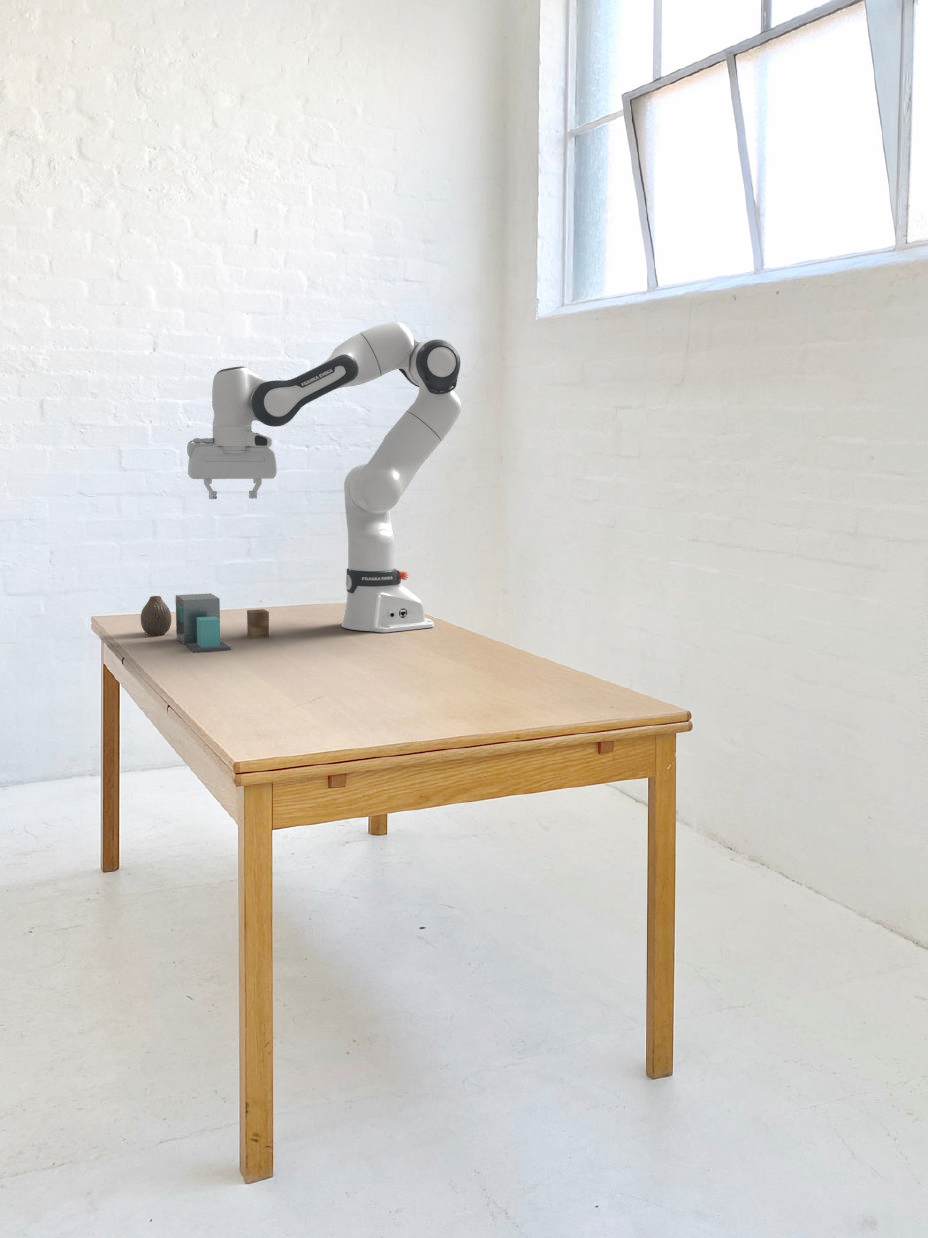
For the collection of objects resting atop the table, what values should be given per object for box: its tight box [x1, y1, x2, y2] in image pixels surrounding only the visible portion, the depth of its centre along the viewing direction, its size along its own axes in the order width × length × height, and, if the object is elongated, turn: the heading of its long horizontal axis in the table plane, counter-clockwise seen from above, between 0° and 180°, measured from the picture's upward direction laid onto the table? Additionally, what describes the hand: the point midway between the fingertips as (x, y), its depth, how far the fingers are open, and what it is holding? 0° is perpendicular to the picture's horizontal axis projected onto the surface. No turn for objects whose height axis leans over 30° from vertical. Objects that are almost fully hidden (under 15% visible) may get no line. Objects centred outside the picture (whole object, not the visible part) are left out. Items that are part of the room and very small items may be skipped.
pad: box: [186, 640, 232, 653], centre depth 261 cm, size 8×7×1 cm
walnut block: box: [246, 608, 270, 640], centre depth 275 cm, size 4×4×6 cm
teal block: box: [197, 616, 221, 648], centre depth 260 cm, size 4×4×6 cm
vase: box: [140, 595, 172, 636], centre depth 276 cm, size 7×7×9 cm
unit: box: [175, 593, 221, 646], centre depth 268 cm, size 8×8×10 cm
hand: (233, 498), depth 277 cm, fingers open, 8 cm apart
